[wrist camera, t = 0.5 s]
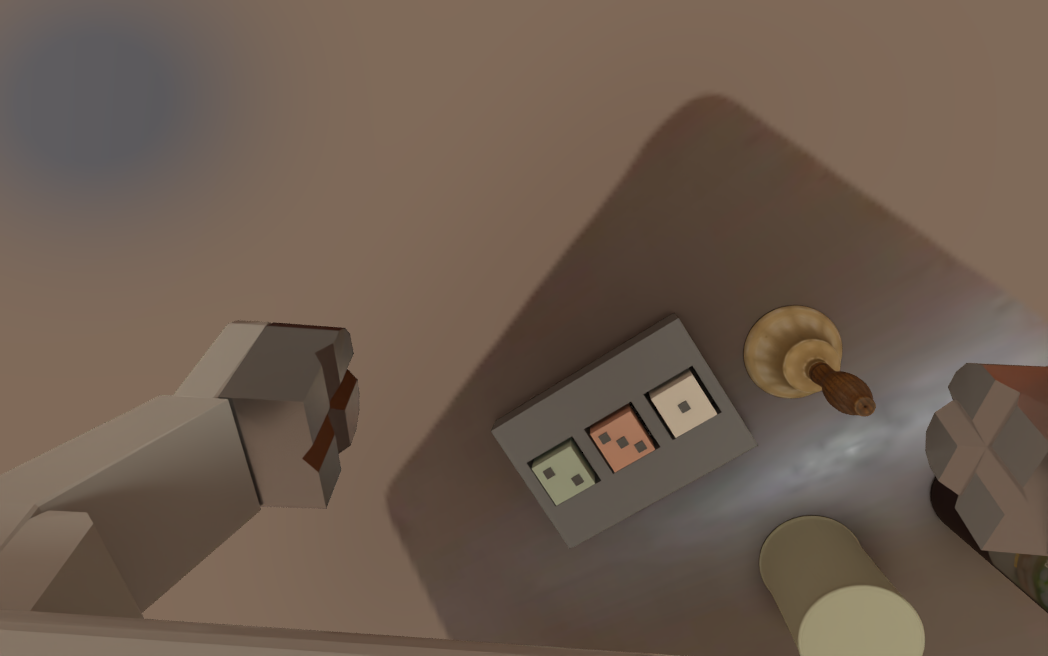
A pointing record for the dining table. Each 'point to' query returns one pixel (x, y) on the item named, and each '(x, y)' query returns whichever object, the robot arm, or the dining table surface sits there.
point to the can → (836, 593)
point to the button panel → (600, 395)
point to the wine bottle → (1030, 573)
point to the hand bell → (803, 360)
